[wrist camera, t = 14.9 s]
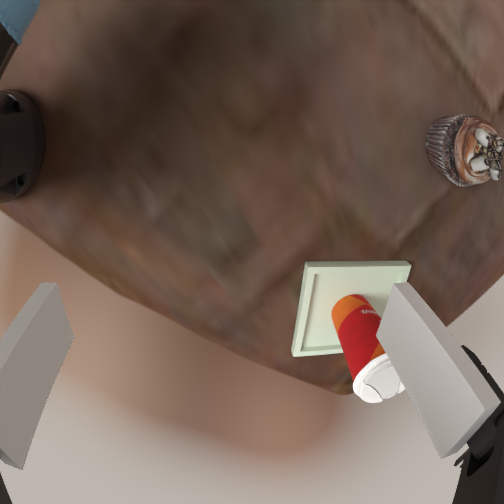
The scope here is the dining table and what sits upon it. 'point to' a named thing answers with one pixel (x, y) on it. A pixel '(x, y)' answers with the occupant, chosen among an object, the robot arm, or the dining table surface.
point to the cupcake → (465, 149)
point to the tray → (332, 290)
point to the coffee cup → (364, 349)
